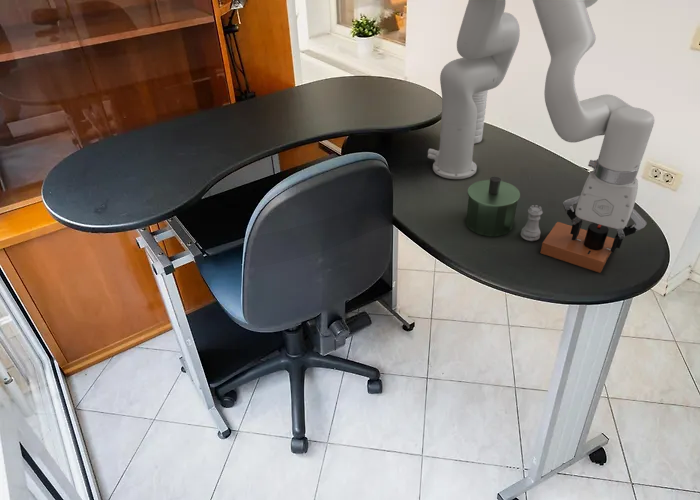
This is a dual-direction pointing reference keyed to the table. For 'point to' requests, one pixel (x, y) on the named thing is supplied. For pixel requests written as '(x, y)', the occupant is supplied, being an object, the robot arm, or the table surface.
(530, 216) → the rook chess piece
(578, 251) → the knob base block
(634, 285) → the table surface
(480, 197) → the pot lid
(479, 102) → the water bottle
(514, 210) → the pot
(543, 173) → the table surface
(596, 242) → the stove knob
